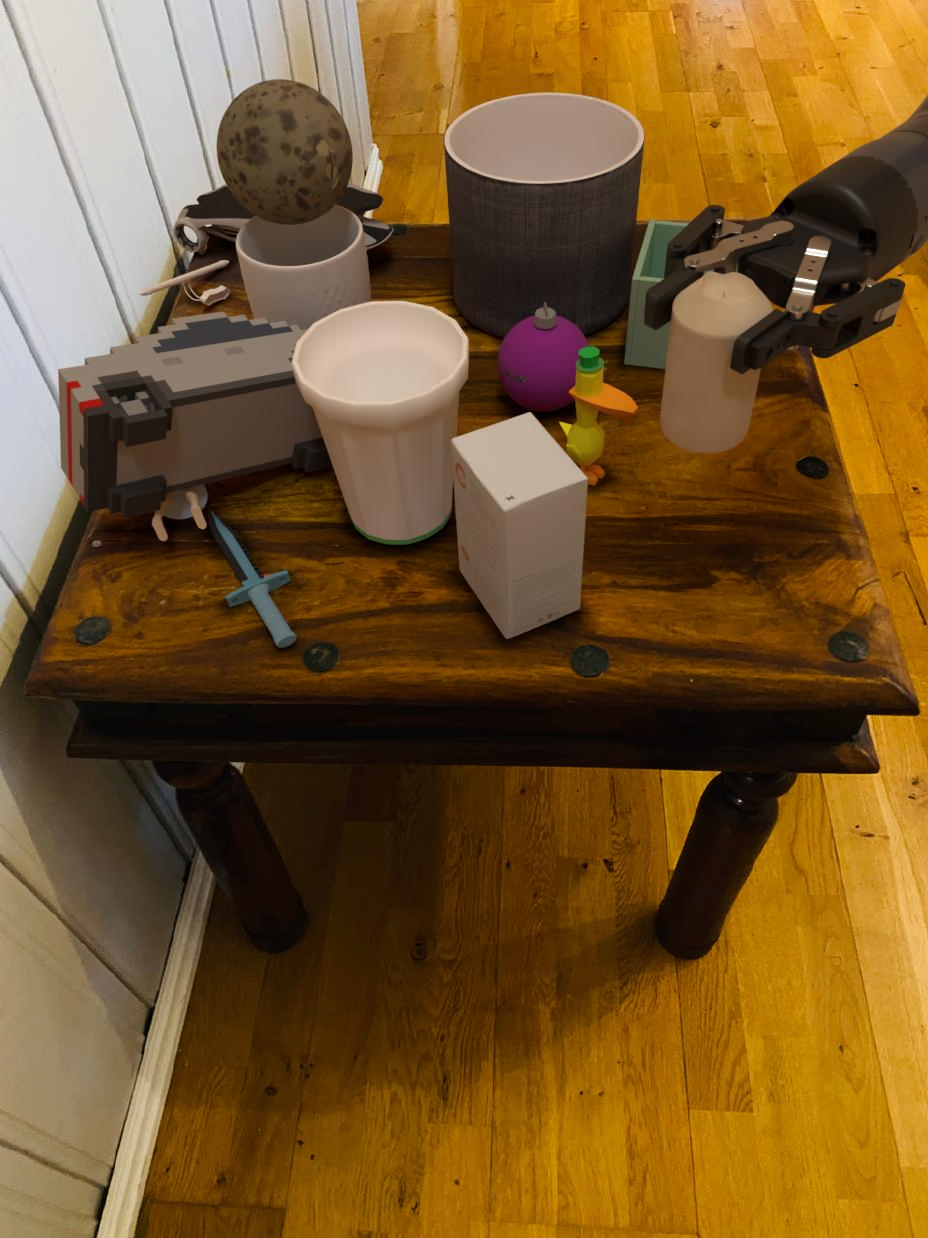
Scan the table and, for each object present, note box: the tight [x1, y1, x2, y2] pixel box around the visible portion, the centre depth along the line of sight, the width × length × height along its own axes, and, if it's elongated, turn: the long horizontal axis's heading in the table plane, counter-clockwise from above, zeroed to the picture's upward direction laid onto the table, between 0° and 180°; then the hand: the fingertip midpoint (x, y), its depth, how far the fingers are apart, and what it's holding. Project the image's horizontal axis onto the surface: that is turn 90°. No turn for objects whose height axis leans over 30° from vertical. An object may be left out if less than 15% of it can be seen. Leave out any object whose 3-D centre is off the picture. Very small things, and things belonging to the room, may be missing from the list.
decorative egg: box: [216, 78, 354, 225], centre depth 82 cm, size 11×11×15 cm
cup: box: [291, 300, 470, 546], centre depth 75 cm, size 12×12×15 cm
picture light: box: [139, 259, 231, 306], centre depth 101 cm, size 14×4×2 cm, turn 154°
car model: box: [172, 183, 394, 254], centre depth 106 cm, size 11×24×5 cm, turn 66°
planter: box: [443, 92, 646, 339], centre depth 94 cm, size 18×18×16 cm
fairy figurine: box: [151, 484, 208, 542], centre depth 80 cm, size 12×5×12 cm
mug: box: [235, 205, 372, 330], centre depth 90 cm, size 15×11×13 cm
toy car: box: [57, 311, 333, 520], centre depth 77 cm, size 9×24×10 cm
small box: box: [451, 411, 589, 640], centre depth 70 cm, size 8×6×13 cm
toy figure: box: [558, 346, 639, 487], centre depth 77 cm, size 7×4×12 cm, turn 53°
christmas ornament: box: [496, 302, 590, 413], centre depth 85 cm, size 8×8×10 cm
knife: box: [208, 509, 298, 649], centre depth 76 cm, size 17×1×5 cm
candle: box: [659, 271, 773, 454], centre depth 58 cm, size 6×6×10 cm
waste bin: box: [623, 219, 738, 370], centre depth 90 cm, size 10×10×9 cm
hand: (693, 335), depth 55 cm, fingers closed on candle, 5 cm apart
